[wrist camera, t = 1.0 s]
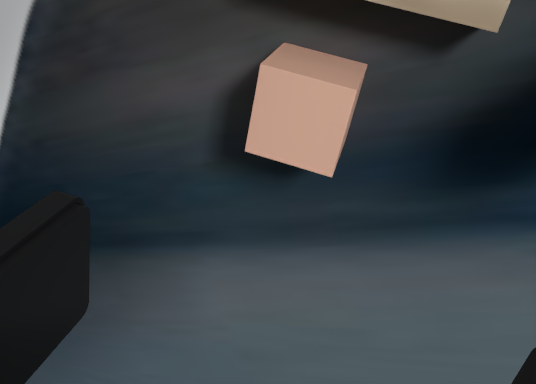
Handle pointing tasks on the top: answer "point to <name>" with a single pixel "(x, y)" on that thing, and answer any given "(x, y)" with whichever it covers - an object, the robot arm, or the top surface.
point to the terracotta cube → (304, 107)
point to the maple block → (457, 10)
